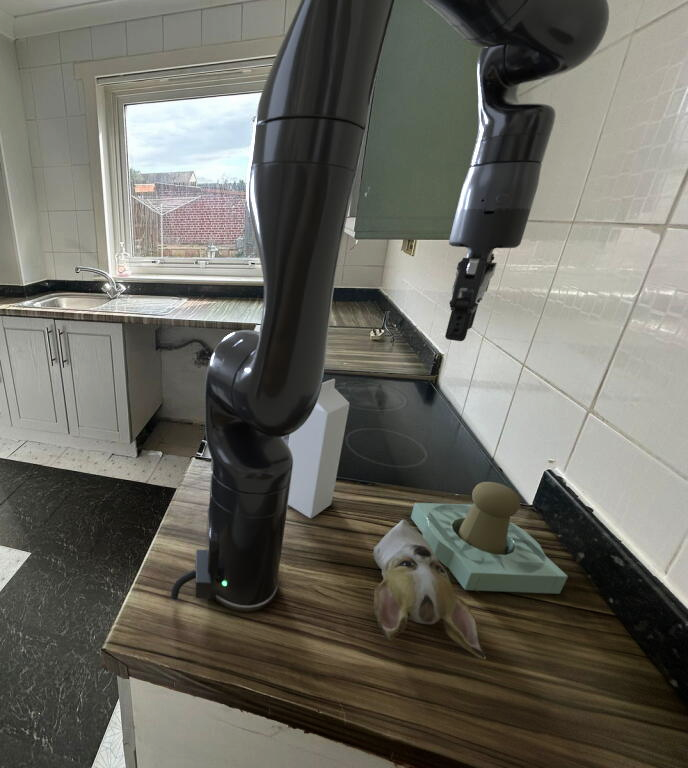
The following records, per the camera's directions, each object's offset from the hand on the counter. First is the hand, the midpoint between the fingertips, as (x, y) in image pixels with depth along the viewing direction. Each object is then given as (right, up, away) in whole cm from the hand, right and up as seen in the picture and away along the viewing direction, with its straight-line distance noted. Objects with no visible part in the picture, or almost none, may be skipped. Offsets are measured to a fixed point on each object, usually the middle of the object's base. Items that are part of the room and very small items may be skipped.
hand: (458, 333), depth 56 cm
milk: (-17, -27, +13) cm, 35 cm away
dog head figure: (-10, -35, -6) cm, 37 cm away
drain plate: (+4, -31, +2) cm, 32 cm away
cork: (+4, -32, +3) cm, 32 cm away
